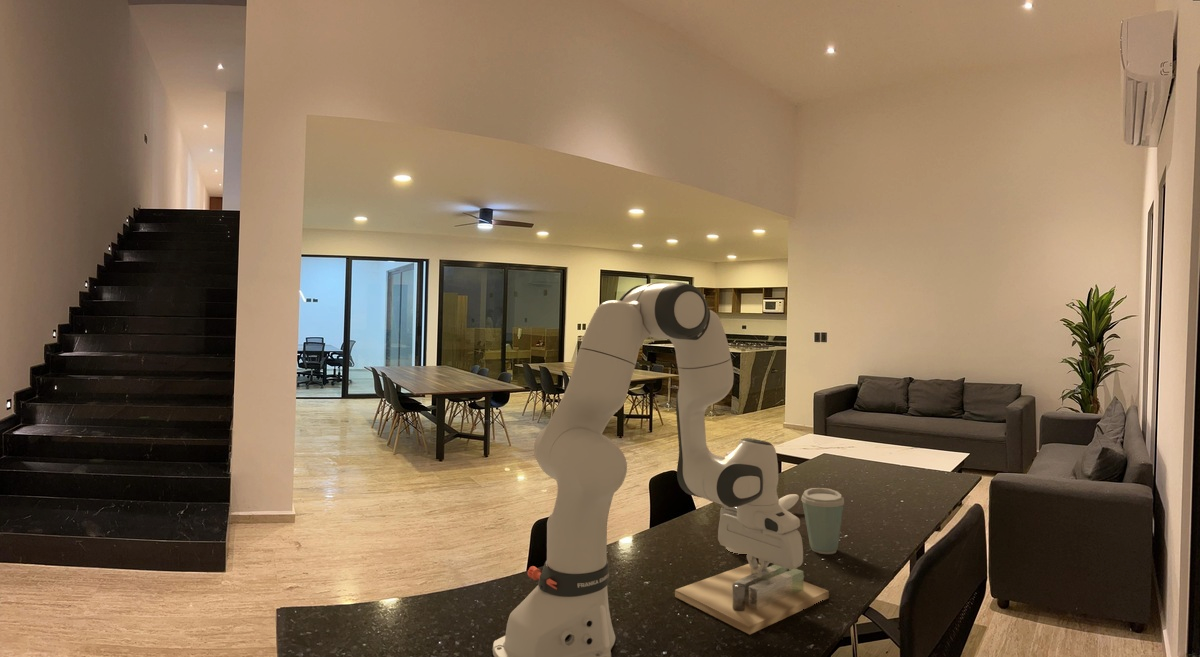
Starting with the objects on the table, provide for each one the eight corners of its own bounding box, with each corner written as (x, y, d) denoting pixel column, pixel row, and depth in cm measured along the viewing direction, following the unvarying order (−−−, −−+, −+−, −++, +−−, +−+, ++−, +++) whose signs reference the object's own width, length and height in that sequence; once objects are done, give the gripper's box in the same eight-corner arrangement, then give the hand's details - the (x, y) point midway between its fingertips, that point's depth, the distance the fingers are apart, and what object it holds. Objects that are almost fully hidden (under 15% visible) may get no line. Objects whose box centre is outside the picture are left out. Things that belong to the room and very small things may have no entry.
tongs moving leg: (739, 612, 119) (739, 588, 119) (724, 605, 122) (724, 582, 122) (793, 585, 132) (793, 564, 132) (779, 580, 134) (779, 559, 134)
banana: (799, 512, 190) (800, 465, 190) (764, 524, 178) (764, 474, 178) (786, 508, 194) (786, 462, 194) (750, 520, 181) (750, 471, 181)
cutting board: (749, 634, 114) (749, 626, 114) (674, 596, 130) (674, 589, 130) (828, 597, 129) (828, 590, 129) (753, 568, 145) (753, 561, 145)
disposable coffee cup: (848, 559, 151) (848, 499, 151) (803, 556, 153) (803, 496, 153) (840, 544, 162) (840, 488, 162) (798, 541, 164) (798, 486, 164)
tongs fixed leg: (756, 610, 120) (756, 589, 120) (748, 606, 122) (748, 586, 122) (803, 590, 130) (803, 571, 130) (795, 586, 131) (795, 568, 131)
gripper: (711, 505, 138) (712, 565, 138) (788, 528, 122) (789, 596, 122) (729, 499, 142) (730, 558, 142) (807, 521, 126) (807, 587, 126)
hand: (758, 576), depth 132 cm, fingers closed
